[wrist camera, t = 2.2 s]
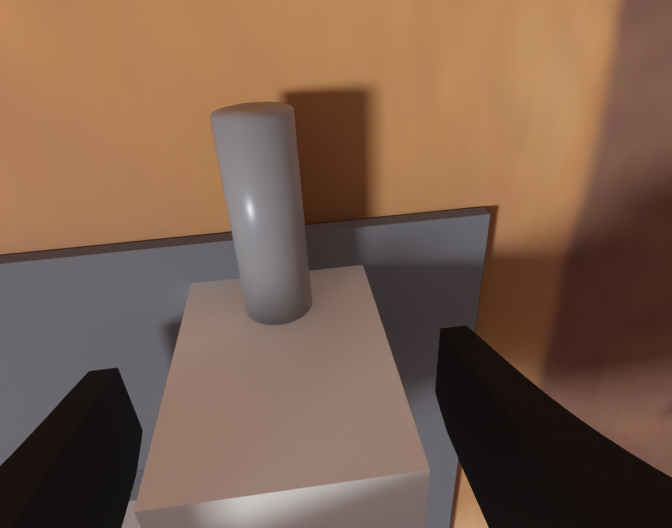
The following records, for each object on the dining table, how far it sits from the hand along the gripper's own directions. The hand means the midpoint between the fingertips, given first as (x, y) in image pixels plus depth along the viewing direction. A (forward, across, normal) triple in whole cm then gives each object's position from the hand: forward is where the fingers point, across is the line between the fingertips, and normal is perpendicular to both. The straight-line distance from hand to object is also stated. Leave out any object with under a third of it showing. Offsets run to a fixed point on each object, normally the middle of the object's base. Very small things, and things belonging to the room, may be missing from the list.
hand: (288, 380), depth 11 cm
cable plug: (+2, 0, -2) cm, 2 cm away
